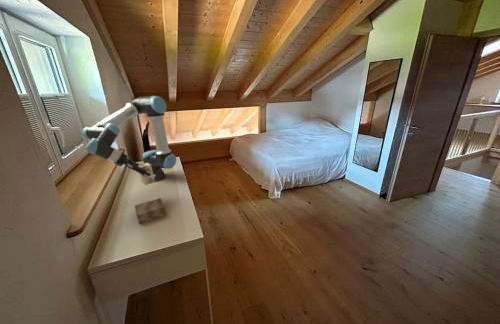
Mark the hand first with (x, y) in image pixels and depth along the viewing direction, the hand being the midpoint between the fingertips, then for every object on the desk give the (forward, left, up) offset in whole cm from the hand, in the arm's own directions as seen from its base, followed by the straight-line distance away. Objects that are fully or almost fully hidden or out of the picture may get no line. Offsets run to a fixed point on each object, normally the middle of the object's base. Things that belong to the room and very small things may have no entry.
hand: (153, 175), depth 137 cm
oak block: (+3, -1, -4) cm, 5 cm away
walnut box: (+11, +16, -17) cm, 26 cm away
